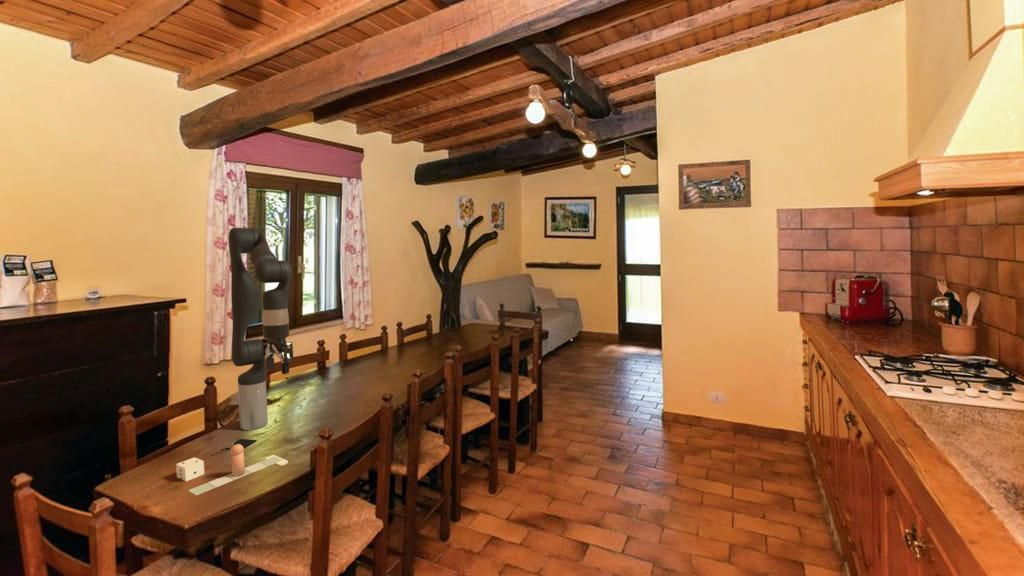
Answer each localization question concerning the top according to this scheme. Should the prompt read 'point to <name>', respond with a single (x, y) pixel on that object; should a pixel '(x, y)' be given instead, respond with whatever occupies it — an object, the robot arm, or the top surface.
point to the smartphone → (243, 442)
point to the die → (190, 469)
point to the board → (225, 479)
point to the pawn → (237, 460)
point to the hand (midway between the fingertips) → (277, 371)
